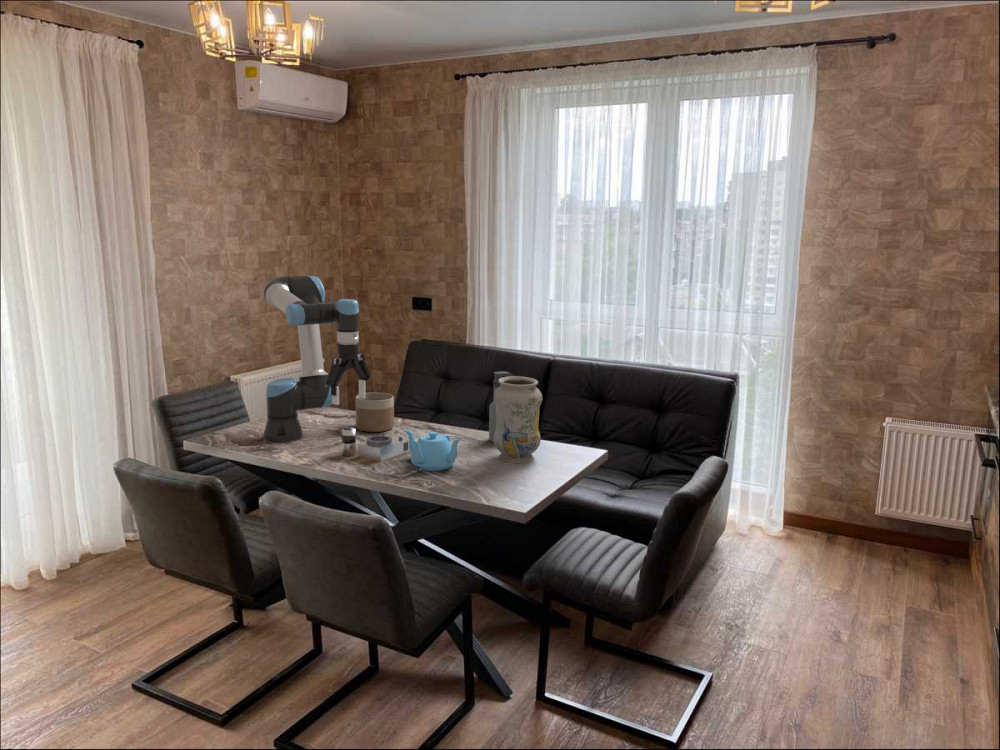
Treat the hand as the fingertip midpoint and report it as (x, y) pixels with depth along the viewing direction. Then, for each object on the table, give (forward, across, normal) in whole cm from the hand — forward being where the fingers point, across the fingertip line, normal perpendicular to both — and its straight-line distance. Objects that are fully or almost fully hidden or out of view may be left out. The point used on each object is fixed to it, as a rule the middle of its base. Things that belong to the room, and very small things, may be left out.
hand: (349, 400), depth 273 cm
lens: (+20, 0, 0) cm, 20 cm away
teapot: (+22, +10, -30) cm, 38 cm away
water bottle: (+22, +53, -32) cm, 66 cm away
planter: (+22, +37, +21) cm, 48 cm away
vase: (+22, +36, -50) cm, 65 cm away
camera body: (+20, +7, -10) cm, 24 cm away
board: (+22, +6, -6) cm, 23 cm away
